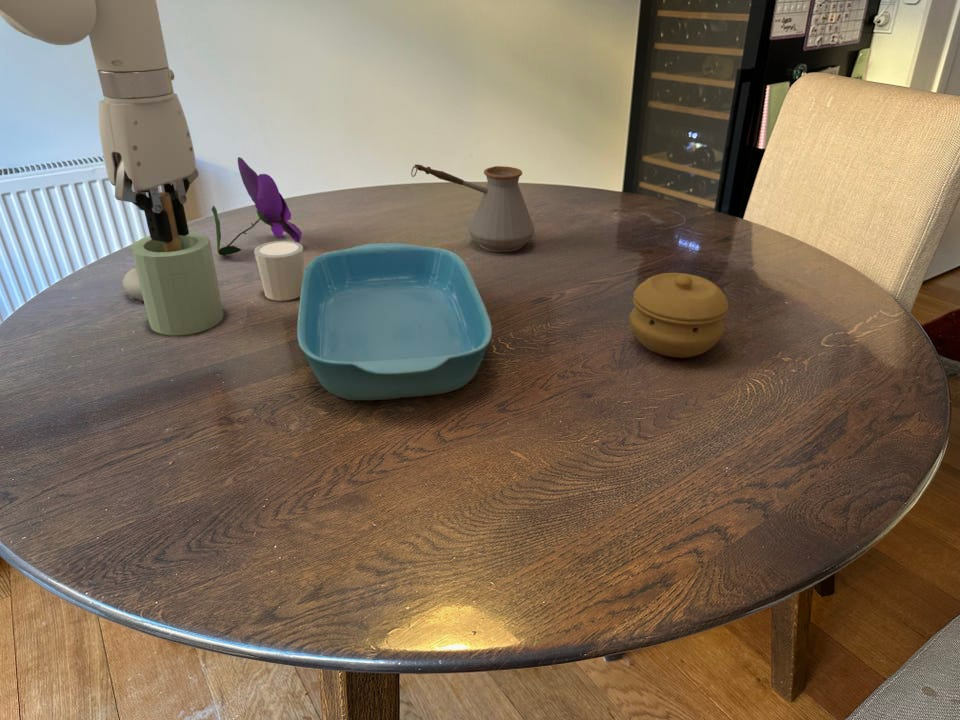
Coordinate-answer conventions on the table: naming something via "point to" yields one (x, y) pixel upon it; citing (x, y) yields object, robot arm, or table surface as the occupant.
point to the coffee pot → (496, 209)
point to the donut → (132, 285)
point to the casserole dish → (391, 321)
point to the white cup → (280, 269)
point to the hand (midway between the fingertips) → (170, 236)
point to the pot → (678, 314)
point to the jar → (178, 285)
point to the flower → (262, 207)
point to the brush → (168, 207)
